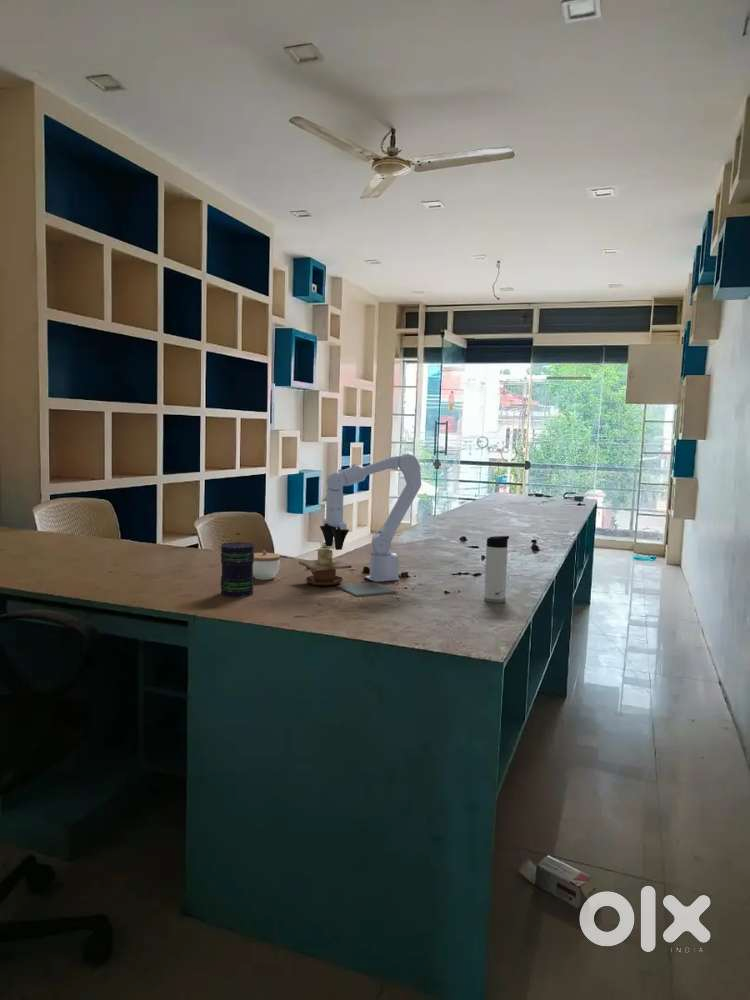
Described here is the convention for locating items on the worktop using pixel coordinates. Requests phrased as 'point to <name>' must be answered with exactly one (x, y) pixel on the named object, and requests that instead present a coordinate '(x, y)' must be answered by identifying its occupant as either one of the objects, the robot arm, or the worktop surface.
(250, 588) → the storage jar
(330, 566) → the lid
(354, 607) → the worktop surface
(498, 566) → the travel mug
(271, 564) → the lidded jar
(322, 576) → the cup and saucer
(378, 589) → the mat
